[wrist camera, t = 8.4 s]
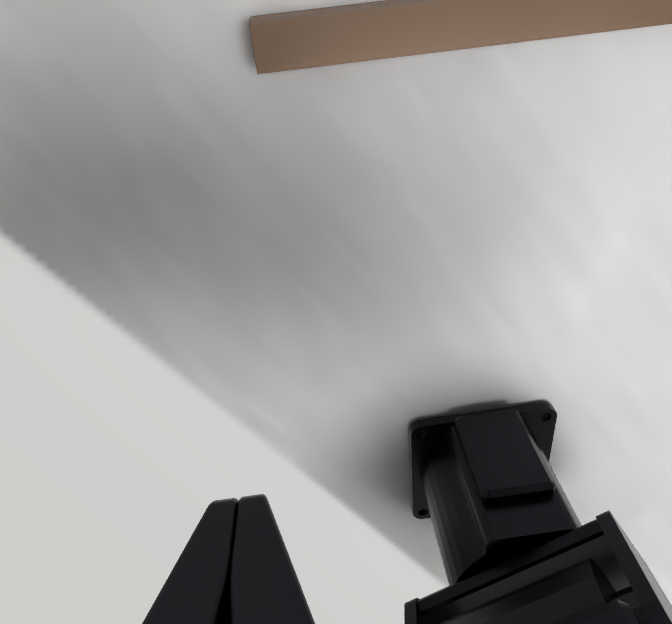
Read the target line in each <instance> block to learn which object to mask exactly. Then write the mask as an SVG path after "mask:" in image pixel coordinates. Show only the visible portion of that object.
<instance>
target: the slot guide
mask: <svg viewBox="0 0 672 624" xmlns="http://www.w3.org/2000/svg"><path fill="white" fill-rule="evenodd" d="M665 24H672V0H386V1H378V2H370V3H361V4H353V5H344V6H336V7H328V8H319V9H311V10H302V11H294V12H286V13H277V14H269V15H260V16H252V17H251V19H250V23H249V26H250V32H251V38H252V44H253V50H254V56H255V62H256V68H257V74H261V73H270V72H278V71H286V70H294V69H302V68H311V67H319V66H327V65H335V64H344V63H352V62H360V61H368V60H376V59H385V58H393V57H401V56H409V55H418V54H426V53H434V52H442V51H451V50H459V49H467V48H475V47H483V46H492V45H500V44H508V43H516V42H525V41H533V40H541V39H549V38H558V37H566V36H574V35H582V34H590V33H599V32H607V31H615V30H623V29H632V28H640V27H648V26H656V25H665Z"/></svg>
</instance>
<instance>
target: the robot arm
mask: <svg viewBox="0 0 672 624" xmlns="http://www.w3.org/2000/svg"><path fill="white" fill-rule="evenodd" d="M543 414H544V415H543ZM556 418H557V413H556V411H555V409H554V408H553V406H552V405H551V404H549V403H538V404H531V405H524V406H517V407H509V408H502V409H495V410H487V411H480V412H473V413H466V414H458V415H451V416H444V417H437V418H429V419H422V420H417V421H415V422H413V423H412V424H411V425H410V427H409V445H410V478H411V507H412V512H413V515H414V517H416V518H419V519H424V518H431V520H432V523H433V527H434V531H435V534H436V538H437V542H438V545H439V549H440V553H441V556H442V560H443V564H444V567H445V571H446V575H447V578H448V582H449V586H448V587H446V588H444V589H441V590H439V591H437V592H435V593H433V594H431V595H428V596H426V597H424V598H422V599H418V598H415V599H413V600H411V601H409V602H407V603H405V624H672V605H671V604H670V602H669V600H668V599H667V597H666V595H665V594H664V592H663V590H662V589H661V587H660V586H659V584H658V582H657V581H656V579H655V577H654V576H653V574H652V572H651V571H650V569H649V567H648V566H647V564H646V563H645V561H644V560H643V558H642V557H641V556H640V554H639V553H638V551H637V550H636V548H635V547H634V545H633V544H632V543H631V541H630V540H629V538H628V537H627V535H626V534H625V532H624V531H623V529H622V528H621V527H620V525H619V524H618V522H617V521H616V519H615V518H614V516H613V515H612V514H611V512H610V511H607V512H605V513H602V514H600V515H598V516H596V520H594V521H591V522H589V523H587V524H585V525H583V526H582V525H581V523H580V521H579V519H578V518H577V516H576V514H575V512H574V510H573V508H572V506H571V504H570V502H569V500H568V498H567V497H566V495H565V493H564V491H563V489H562V487H561V485H560V483H559V481H558V479H557V477H556V475H555V474H554V472H553V470H552V468H551V466H550V464H549V458H550V452H551V446H552V441H553V435H554V430H555V424H556ZM421 430H424V431H422V432H419V431H421ZM142 624H315V623H314V620H313V618H312V615H311V612H310V609H309V607H308V604H307V601H306V599H305V597H304V594H303V591H302V589H301V586H300V583H299V581H298V578H297V575H296V573H295V570H294V568H293V565H292V563H291V560H290V557H289V554H288V552H287V549H286V547H285V544H284V542H283V539H282V536H281V534H280V531H279V529H278V526H277V523H276V520H275V518H274V515H273V513H272V510H271V507H270V505H269V502H268V500H267V497H266V496H265V495H263V494H260V495H252V496H245V497H242V498H241V499H240V500H239V501H238V499H235V498H232V499H223V500H216V501H213V502H212V503H211V504H210V505H209V506H208V508H207V509H206V511H205V513H204V515H203V517H202V519H201V520H200V522H199V524H198V525H197V527H196V529H195V531H194V532H193V534H192V536H191V538H190V540H189V542H188V543H187V545H186V547H185V549H184V550H183V552H182V554H181V556H180V557H179V559H178V561H177V563H176V564H175V566H174V568H173V570H172V572H171V573H170V575H169V577H168V579H167V581H166V582H165V584H164V586H163V588H162V589H161V591H160V593H159V595H158V597H157V598H156V600H155V602H154V604H153V606H152V607H151V609H150V611H149V613H148V614H147V616H146V618H145V620H144V621H143V623H142Z"/></svg>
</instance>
